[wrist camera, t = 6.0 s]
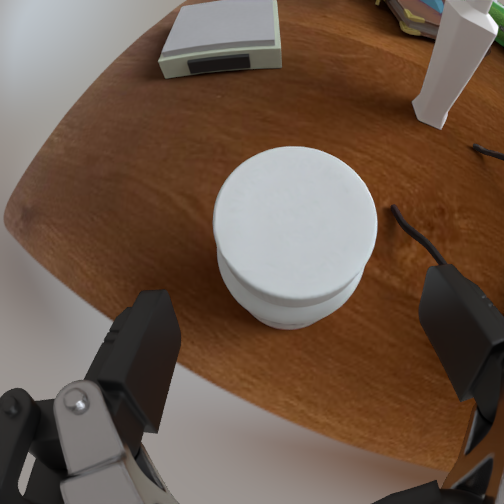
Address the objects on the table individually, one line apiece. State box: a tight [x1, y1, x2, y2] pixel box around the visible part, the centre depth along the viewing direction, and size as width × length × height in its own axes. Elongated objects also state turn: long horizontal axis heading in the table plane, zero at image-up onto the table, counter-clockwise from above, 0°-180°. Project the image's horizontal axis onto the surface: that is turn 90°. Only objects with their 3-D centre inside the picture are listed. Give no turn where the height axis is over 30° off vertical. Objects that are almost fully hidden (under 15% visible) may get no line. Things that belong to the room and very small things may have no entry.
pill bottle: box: [213, 147, 377, 330], centre depth 14 cm, size 6×6×11 cm
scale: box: [158, 0, 282, 79], centre depth 26 cm, size 12×12×3 cm
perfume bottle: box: [412, 0, 498, 129], centre depth 16 cm, size 5×4×15 cm
